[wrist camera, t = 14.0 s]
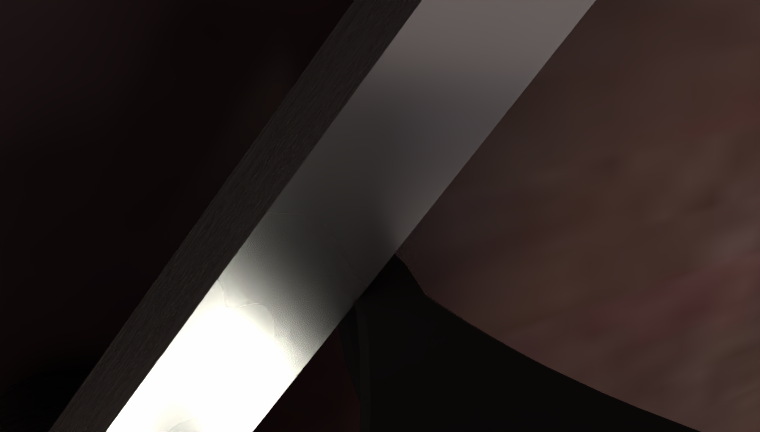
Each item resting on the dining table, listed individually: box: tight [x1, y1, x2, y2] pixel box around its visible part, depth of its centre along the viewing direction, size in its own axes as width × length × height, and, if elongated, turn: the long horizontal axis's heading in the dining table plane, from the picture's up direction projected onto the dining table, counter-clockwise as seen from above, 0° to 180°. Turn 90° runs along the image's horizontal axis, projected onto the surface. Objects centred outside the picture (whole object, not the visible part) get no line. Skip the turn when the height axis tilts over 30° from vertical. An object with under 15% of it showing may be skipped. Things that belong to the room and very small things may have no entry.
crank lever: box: [0, 0, 595, 432], centre depth 7 cm, size 18×3×5 cm, turn 140°
